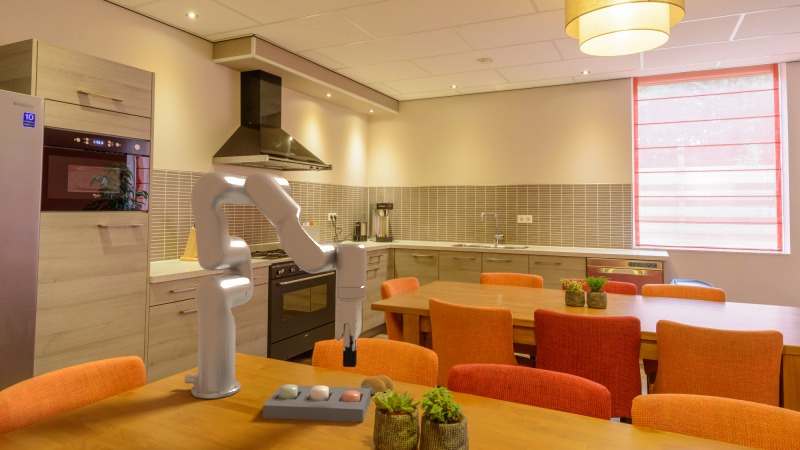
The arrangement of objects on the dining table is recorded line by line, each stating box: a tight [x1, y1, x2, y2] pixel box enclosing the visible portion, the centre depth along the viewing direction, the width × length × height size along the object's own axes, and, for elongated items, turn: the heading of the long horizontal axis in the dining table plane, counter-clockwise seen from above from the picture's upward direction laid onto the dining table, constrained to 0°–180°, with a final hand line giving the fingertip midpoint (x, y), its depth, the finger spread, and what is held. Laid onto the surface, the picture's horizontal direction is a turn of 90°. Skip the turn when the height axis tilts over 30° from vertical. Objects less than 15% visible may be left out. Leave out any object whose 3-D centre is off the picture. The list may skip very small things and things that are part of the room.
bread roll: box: [360, 374, 394, 394], centre depth 131 cm, size 8×9×4 cm
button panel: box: [262, 384, 371, 423], centre depth 117 cm, size 24×14×3 cm, turn 86°
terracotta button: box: [342, 391, 360, 402], centre depth 116 cm, size 4×4×4 cm
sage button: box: [279, 383, 299, 400], centre depth 117 cm, size 4×4×4 cm
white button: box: [311, 384, 330, 401], centre depth 117 cm, size 4×4×4 cm
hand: (349, 365), depth 116 cm, fingers closed
